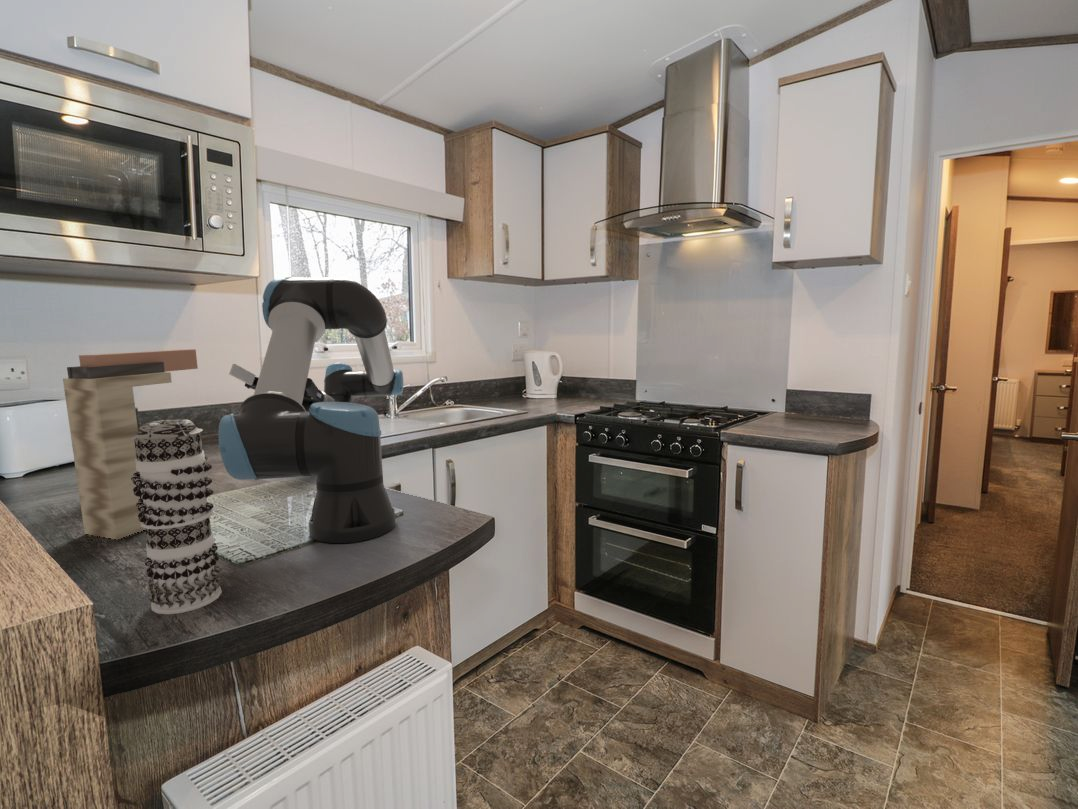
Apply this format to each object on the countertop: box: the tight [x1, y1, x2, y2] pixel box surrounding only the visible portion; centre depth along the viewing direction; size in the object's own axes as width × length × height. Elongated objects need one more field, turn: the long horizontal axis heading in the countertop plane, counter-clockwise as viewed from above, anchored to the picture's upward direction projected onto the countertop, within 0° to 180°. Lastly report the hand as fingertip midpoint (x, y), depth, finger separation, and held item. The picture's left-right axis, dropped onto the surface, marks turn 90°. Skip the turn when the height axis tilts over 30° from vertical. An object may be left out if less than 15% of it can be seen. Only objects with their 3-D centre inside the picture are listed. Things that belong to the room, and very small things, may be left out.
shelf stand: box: [62, 362, 173, 541], centre depth 108 cm, size 9×14×31 cm, turn 159°
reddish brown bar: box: [78, 348, 199, 372], centre depth 111 cm, size 4×20×4 cm, turn 161°
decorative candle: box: [131, 418, 223, 615], centre depth 78 cm, size 9×9×25 cm
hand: (253, 369), depth 135 cm, fingers open, 13 cm apart
